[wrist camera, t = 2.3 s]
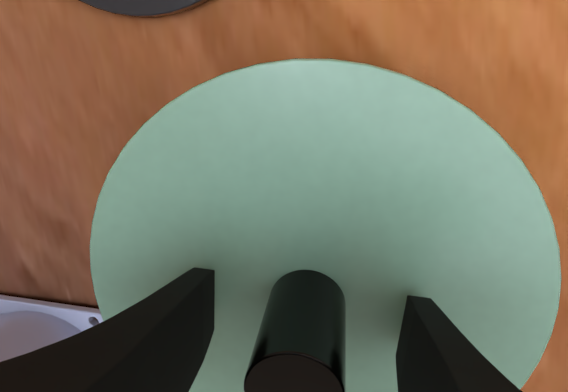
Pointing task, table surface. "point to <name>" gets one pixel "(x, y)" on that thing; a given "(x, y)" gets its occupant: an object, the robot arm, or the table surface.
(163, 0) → the saucer
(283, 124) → the lid
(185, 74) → the table surface
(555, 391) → the table surface
